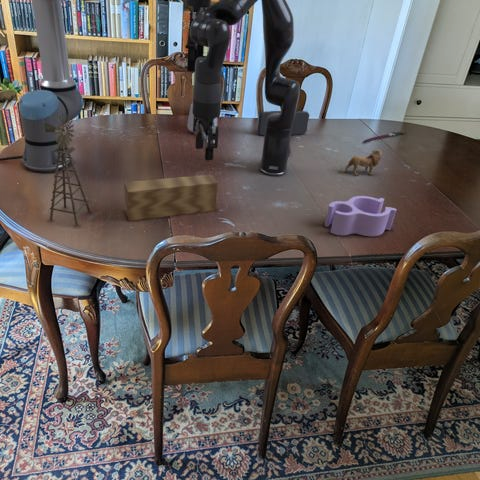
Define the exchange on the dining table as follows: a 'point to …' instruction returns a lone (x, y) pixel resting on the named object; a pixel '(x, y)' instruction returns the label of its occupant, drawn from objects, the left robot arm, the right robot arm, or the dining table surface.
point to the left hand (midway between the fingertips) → (195, 66)
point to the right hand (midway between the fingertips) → (203, 154)
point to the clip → (359, 216)
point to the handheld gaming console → (297, 127)
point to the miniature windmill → (60, 149)
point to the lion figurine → (365, 162)
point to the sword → (382, 136)
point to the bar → (170, 196)
